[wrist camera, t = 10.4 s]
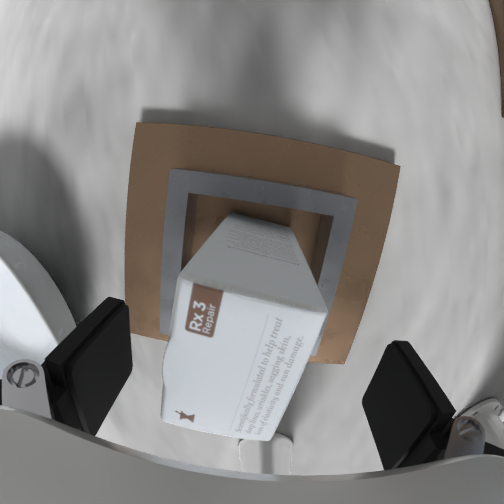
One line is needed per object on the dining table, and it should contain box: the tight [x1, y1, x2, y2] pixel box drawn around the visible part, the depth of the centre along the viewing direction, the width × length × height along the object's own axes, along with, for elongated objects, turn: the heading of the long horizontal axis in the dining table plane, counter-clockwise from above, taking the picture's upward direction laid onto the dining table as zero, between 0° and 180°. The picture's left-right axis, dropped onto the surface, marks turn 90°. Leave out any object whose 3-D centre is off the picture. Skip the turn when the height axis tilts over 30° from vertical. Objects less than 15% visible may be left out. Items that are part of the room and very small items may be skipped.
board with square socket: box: [125, 122, 400, 364], centre depth 19 cm, size 18×16×4 cm
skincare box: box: [161, 212, 328, 441], centre depth 14 cm, size 6×4×12 cm
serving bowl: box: [0, 231, 76, 379], centre depth 20 cm, size 21×21×7 cm
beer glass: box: [238, 433, 293, 475], centre depth 20 cm, size 7×7×15 cm
